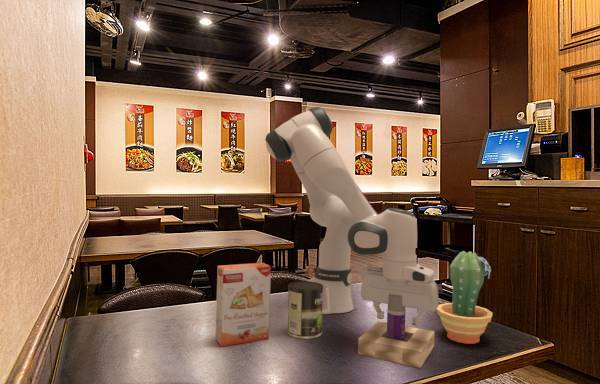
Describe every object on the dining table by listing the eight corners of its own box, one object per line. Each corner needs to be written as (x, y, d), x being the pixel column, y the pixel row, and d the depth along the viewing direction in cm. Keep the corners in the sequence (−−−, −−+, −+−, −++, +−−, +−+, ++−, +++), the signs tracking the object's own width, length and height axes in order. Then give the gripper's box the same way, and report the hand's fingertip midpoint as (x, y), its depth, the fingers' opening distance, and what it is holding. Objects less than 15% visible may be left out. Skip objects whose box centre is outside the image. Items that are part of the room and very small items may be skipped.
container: (404, 354, 107) (406, 297, 107) (386, 352, 108) (387, 295, 108) (404, 347, 112) (405, 292, 112) (386, 345, 113) (387, 291, 113)
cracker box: (221, 348, 110) (222, 269, 109) (215, 340, 115) (216, 265, 114) (270, 339, 116) (271, 265, 116) (262, 332, 121) (263, 261, 121)
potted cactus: (481, 353, 109) (483, 258, 109) (426, 337, 120) (428, 251, 119) (500, 337, 121) (502, 252, 120) (448, 324, 131) (450, 246, 131)
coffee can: (325, 328, 125) (326, 282, 125) (317, 341, 115) (318, 291, 115) (293, 324, 128) (294, 279, 128) (282, 336, 118) (283, 287, 118)
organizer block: (358, 353, 107) (358, 338, 107) (377, 334, 121) (378, 321, 121) (420, 368, 100) (421, 351, 100) (434, 346, 114) (434, 331, 114)
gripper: (357, 267, 112) (356, 317, 113) (435, 277, 102) (434, 332, 103) (366, 263, 118) (364, 311, 118) (440, 272, 108) (439, 325, 108)
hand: (397, 321), depth 110 cm, fingers open, 8 cm apart
